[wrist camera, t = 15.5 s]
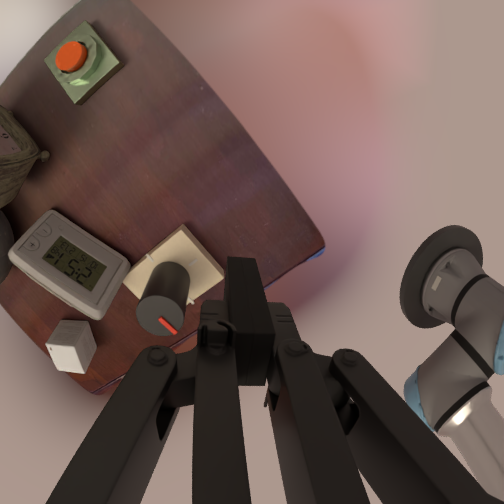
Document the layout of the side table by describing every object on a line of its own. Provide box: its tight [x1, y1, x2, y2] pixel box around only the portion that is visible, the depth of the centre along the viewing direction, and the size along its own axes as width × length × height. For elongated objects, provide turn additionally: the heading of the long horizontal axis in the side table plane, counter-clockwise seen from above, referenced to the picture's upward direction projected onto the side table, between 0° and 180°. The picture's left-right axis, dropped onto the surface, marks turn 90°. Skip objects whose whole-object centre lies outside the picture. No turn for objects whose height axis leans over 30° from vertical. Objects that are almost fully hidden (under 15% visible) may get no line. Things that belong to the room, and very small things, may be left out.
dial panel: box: [123, 224, 224, 304], centre depth 41 cm, size 12×10×3 cm
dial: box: [136, 261, 190, 336], centre depth 36 cm, size 6×6×9 cm
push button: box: [55, 41, 87, 72], centre depth 25 cm, size 4×4×2 cm
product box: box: [46, 320, 97, 374], centre depth 42 cm, size 6×6×7 cm
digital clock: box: [8, 210, 131, 320], centre depth 34 cm, size 16×9×11 cm, turn 42°
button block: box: [44, 20, 124, 105], centre depth 27 cm, size 10×8×4 cm
